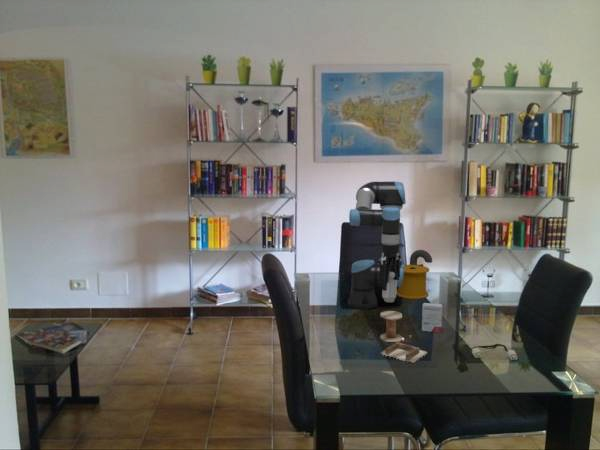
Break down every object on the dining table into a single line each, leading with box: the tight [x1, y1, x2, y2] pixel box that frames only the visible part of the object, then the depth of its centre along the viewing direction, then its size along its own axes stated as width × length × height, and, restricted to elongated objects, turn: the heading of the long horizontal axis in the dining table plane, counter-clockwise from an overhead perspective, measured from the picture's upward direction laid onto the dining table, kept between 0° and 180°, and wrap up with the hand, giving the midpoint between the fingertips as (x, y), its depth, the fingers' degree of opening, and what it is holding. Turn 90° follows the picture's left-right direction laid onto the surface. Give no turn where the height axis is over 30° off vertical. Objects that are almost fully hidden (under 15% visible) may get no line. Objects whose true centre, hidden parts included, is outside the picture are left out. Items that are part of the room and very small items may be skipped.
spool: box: [396, 264, 430, 300], centre depth 276 cm, size 18×18×15 cm
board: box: [380, 342, 428, 364], centre depth 195 cm, size 14×12×3 cm
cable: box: [471, 343, 519, 361], centre depth 197 cm, size 16×16×4 cm
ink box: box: [421, 302, 443, 333], centre depth 221 cm, size 9×5×12 cm, turn 71°
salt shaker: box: [382, 271, 397, 303], centre depth 215 cm, size 6×6×13 cm
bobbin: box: [379, 310, 403, 343], centre depth 210 cm, size 9×9×11 cm
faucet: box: [409, 249, 433, 266], centre depth 302 cm, size 18×16×20 cm
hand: (389, 295), depth 216 cm, fingers closed on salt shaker, 6 cm apart
